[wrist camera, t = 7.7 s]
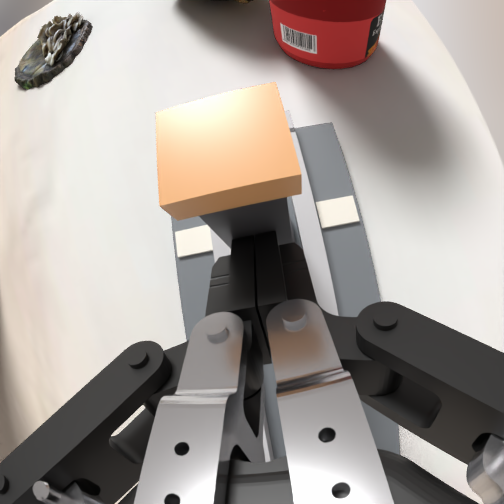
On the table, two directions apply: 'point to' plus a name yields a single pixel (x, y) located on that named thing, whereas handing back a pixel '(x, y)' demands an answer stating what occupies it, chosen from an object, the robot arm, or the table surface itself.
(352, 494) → the robot arm
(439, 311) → the table surface
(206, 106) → the fader tab
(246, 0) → the potato
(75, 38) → the grey rough oval piece
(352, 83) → the table surface
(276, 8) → the canned food
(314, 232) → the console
